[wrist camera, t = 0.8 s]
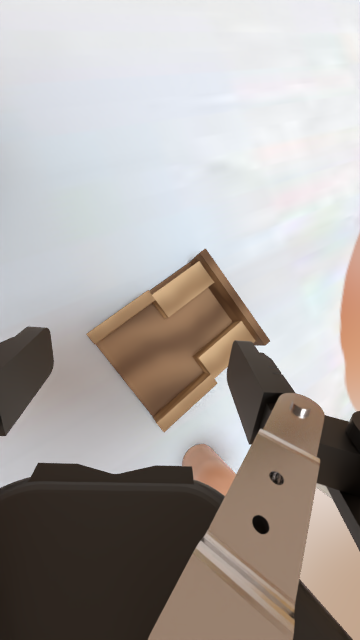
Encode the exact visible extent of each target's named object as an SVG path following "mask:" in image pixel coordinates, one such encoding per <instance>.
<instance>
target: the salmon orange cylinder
mask: <svg viewBox="0 0 360 640" xmlns="http://www.w3.org/2000/svg"><path fill="white" fill-rule="evenodd" d="M182 466H192V469H193V479H194V480H197V481H200V482H202V483H205V484H207V485H209V486H211V487H212V488H214V489H216V490H217V491H219V492H220V493H221V494H223V495H224V496H226V494H227V492H228V490H229V488H230V486H231V484H232V482H233V480H234V478H235V476H236V474H235V472H234V471H233V470H232V469H231V468H230V467H229V466H228V465H227V464H226V463H225V462H224V461H223V460H222V459H221V458H220V457H219V456H218V455H217V454H216V453H215V452H214V450H213V449H212V448H211V447H209V446H207V445H205V444H198V445H195V446H193V447H191V448H190V449H189V450H188V451H187V452H186V454H185V456H184V458H183V462H182Z"/></svg>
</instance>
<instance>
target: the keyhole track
mask: <svg viewBox="0 0 360 640" xmlns="http://www.w3.org/2000/svg"><path fill="white" fill-rule="evenodd" d="M87 336H88V337H89V338H90V340H91V341H92V342H93V343H94V344H96V345H97V347H98V348H99V349H100V350H101V352H102V353H103V354H104V356H105V357H106V358H107V359H108V361H109V362H110V363H111V364H112V366H113V367H114V368H115V369H116V371H117V372H118V373H119V374H120V376H121V377H122V378H123V380H124V381H125V382H126V383H127V385H128V386H129V387H130V388H131V390H132V391H133V392H134V393H135V395H136V396H137V397H138V399H139V400H140V401H141V402H142V404H143V405H144V406H145V407H146V409H147V410H148V411H149V412H150V414H151V415H152V416H153V418H154V419H155V421H156V423H157V424H158V425H159V427H160V428H161V429H162V430H163V432H165V431H166V430H167V429H168V428H169V427H170V426H172V425H173V424H174V423H175V422H176V421H177V420H178V419H179V418H180V417H181V416H182V415H184V414H185V413H186V412H187V411H188V410H189V409H190V408H191V407H192V406H193V405H194V404H195V403H197V402H198V401H199V400H200V399H201V398H202V397H203V396H204V395H205V394H206V393H207V392H209V391H210V390H211V389H212V388H213V387H214V386H215V385H216V384H217V382H216V381H215V378H216V377H217V376H218V375H219V374H220V373H221V372H222V371H223V370H224V369H226V368H227V367H228V364H229V359H230V354H231V349H232V344H233V342H234V341H235V340H238V341H251V342H252V343H253V344H254V345H266V344H267V343H268V342H270V340H269V339H268V337H267V336H266V334H265V333H264V331H263V330H262V329H261V327H260V326H259V324H258V323H257V321H256V320H255V319H254V317H253V316H252V314H251V313H250V311H249V310H248V308H247V307H246V306H245V304H244V303H243V301H242V300H241V298H240V297H239V296H238V294H237V293H236V291H235V290H234V288H233V287H232V286H231V284H230V283H229V281H228V280H227V278H226V277H225V276H224V274H223V273H222V271H221V270H220V268H219V267H218V266H217V264H216V263H215V261H214V260H213V258H212V257H211V256H210V254H209V253H208V251H207V250H206V249H204V250H203V251H201V252H200V253H199V254H198V255H197V256H196V257H195V258H194V259H193V260H192V261H191V262H189V263H188V264H186V265H185V266H184V267H182V268H181V269H179V270H178V271H177V272H175V273H174V274H172V275H171V276H170V277H168V278H167V279H165V280H164V281H163V282H161V283H160V284H158V285H157V286H156V287H154V288H153V289H151V290H150V291H149V290H148V291H146V292H145V293H143V294H142V295H141V296H139V297H138V298H136V299H135V300H134V301H132V302H131V303H129V304H128V305H127V306H125V307H124V308H122V309H121V310H119V311H118V312H117V313H115V314H114V315H112V316H111V317H110V318H108V319H107V320H105V321H104V322H103V323H101V324H100V325H98V326H97V327H95V328H94V329H93V330H91V331H90V332H88V333H87Z"/></svg>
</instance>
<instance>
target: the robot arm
mask: <svg viewBox="0 0 360 640" xmlns="http://www.w3.org/2000/svg"><path fill="white" fill-rule="evenodd" d="M53 363H54V360H53V351H52V343H51V335H50V331H49V329H48V328H41V327H26V328H25V329H24V330H23V331H21V332H20V333H19V334H18V335H16V336H15V337H12V338H10V339H8V340H5V341H3V342H1V343H0V436H6V435H7V433H8V432H9V431H10V429H11V428H12V426H13V425H14V424H15V422H16V421H17V420H18V418H19V417H20V415H21V414H22V413H23V411H24V410H25V409H26V407H27V406H28V404H29V403H30V402H31V400H32V399H33V397H34V396H35V395H36V393H37V392H38V391H39V389H40V388H41V386H42V385H43V384H44V382H45V381H46V379H47V378H48V377H49V375H50V374H51V372H52V369H53ZM227 382H228V386H229V389H230V391H231V394H232V397H233V400H234V403H235V406H236V408H237V411H238V414H239V417H240V420H241V423H242V426H243V428H244V431H245V434H246V437H247V440H248V443H249V444H252V445H251V447H250V449H249V451H248V453H247V455H246V457H245V459H244V461H243V463H242V465H241V467H240V468H239V470H238V472H237V474H236V476H235V478H234V480H233V482H232V484H231V486H230V488H229V490H228V492H227V494H226V496H224V495H223V494H221V493H220V492H219V491H217V490H216V489H214V488H212V487H211V486H209V485H207V484H205V483H202V482H200V481H197V480H194V479H193V469H192V466H152V467H147V468H143V469H138V470H134V471H130V472H125V473H121V474H111V473H107V472H104V471H100V470H97V469H93V468H90V467H86V466H83V465H80V464H62V463H38V464H37V466H36V468H35V470H34V472H33V474H32V476H31V477H29V478H25V479H22V480H19V481H16V482H13V483H11V484H9V485H6V486H4V487H2V488H0V640H353V639H352V638H351V637H350V636H349V635H348V634H347V632H346V631H345V630H344V629H343V628H342V627H341V626H340V624H339V623H338V622H337V621H336V620H335V619H334V618H333V617H332V615H331V614H330V613H329V612H328V611H327V610H326V609H325V608H324V606H323V605H322V604H321V603H320V602H319V601H318V600H317V599H316V597H315V596H314V595H313V594H312V593H311V592H310V590H309V589H308V588H307V587H306V586H305V585H304V584H303V583H302V582H301V580H300V579H299V578H300V572H301V567H302V561H303V556H304V550H305V544H306V539H307V533H308V528H309V521H310V516H311V511H312V505H313V500H314V494H315V488H316V483H318V484H321V485H324V486H326V487H327V489H328V491H329V493H330V495H331V497H332V499H333V501H334V502H335V504H336V506H337V508H338V510H339V512H340V514H341V516H342V518H343V520H344V522H345V523H346V525H347V528H348V529H349V531H350V533H351V535H352V537H353V539H354V541H355V543H356V545H357V547H358V549H359V551H360V411H357V412H355V413H354V414H353V415H352V417H351V419H350V421H349V422H348V421H344V420H340V419H337V418H333V417H329V416H326V415H324V412H323V410H322V409H321V407H320V406H319V405H318V404H317V403H315V402H314V401H313V400H311V399H309V398H307V397H305V396H303V395H300V394H296V393H295V392H294V390H293V389H292V387H291V386H290V385H289V383H288V382H287V380H286V379H285V377H284V376H283V375H281V372H280V370H279V369H278V368H277V366H276V365H275V363H274V362H273V360H272V359H271V358H269V357H268V356H266V355H265V354H264V353H259V352H258V350H257V349H256V347H255V346H254V344H253V343H252V342H251V341H238V340H235V341H234V342H233V344H232V349H231V354H230V359H229V364H228V369H227Z"/></svg>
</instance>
